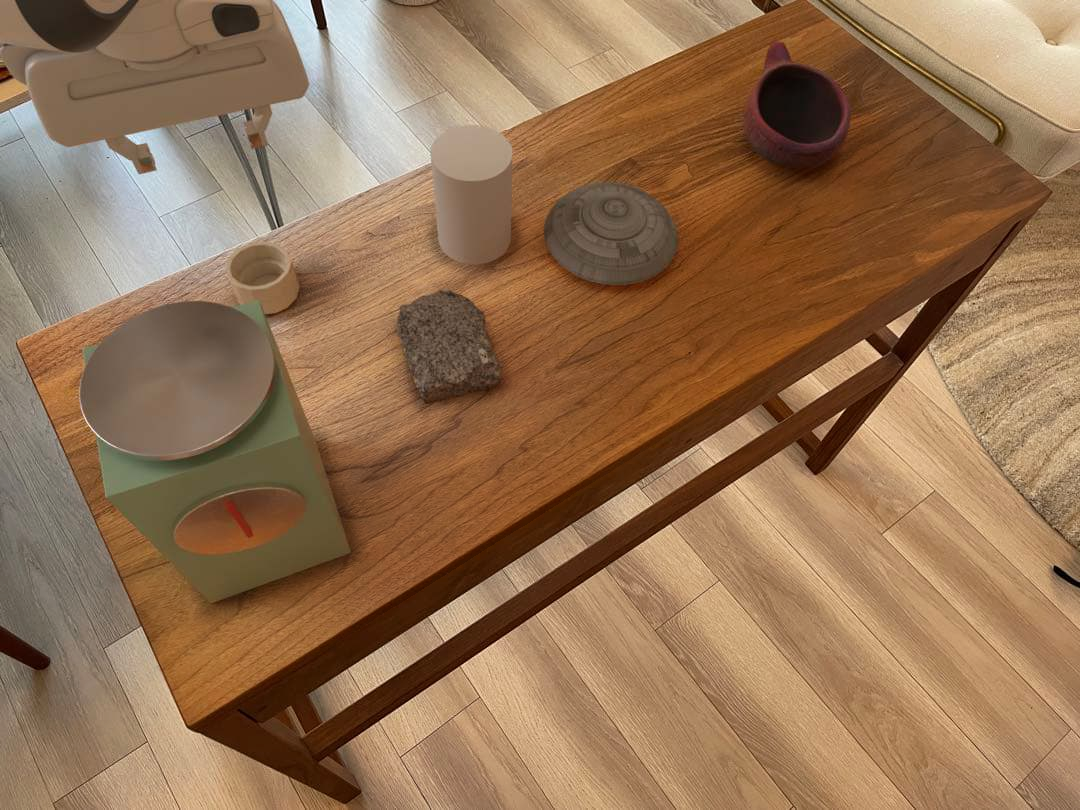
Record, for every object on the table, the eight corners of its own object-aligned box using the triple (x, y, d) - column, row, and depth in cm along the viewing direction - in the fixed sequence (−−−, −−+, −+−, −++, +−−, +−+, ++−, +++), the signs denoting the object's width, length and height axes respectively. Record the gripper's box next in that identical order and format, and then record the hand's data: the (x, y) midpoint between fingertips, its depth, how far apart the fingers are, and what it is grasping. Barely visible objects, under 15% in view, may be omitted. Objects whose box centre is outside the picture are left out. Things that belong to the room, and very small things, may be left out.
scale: (212, 612, 66) (92, 494, 47) (184, 483, 72) (68, 330, 52) (353, 560, 69) (296, 429, 49) (315, 440, 75) (251, 281, 55)
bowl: (857, 157, 99) (884, 103, 92) (787, 200, 95) (809, 146, 88) (764, 89, 105) (783, 33, 99) (694, 125, 101) (708, 70, 94)
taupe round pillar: (522, 225, 91) (526, 140, 80) (490, 274, 87) (489, 191, 76) (459, 201, 92) (454, 115, 82) (424, 248, 88) (415, 164, 78)
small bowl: (245, 325, 82) (233, 297, 78) (232, 279, 85) (220, 250, 81) (306, 307, 83) (297, 279, 79) (291, 263, 86) (282, 234, 82)
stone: (503, 389, 79) (503, 368, 76) (415, 409, 78) (411, 389, 74) (474, 298, 84) (473, 275, 81) (392, 315, 83) (388, 293, 80)
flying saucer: (673, 301, 86) (683, 267, 81) (535, 284, 86) (537, 249, 81) (677, 202, 94) (687, 166, 89) (551, 187, 94) (554, 150, 89)
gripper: (-13, 58, 53) (80, 209, 65) (292, 2, 58) (327, 152, 70) (-17, 5, 56) (72, 159, 68) (273, -44, 61) (310, 107, 73)
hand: (203, 155), depth 69 cm, fingers open, 8 cm apart
